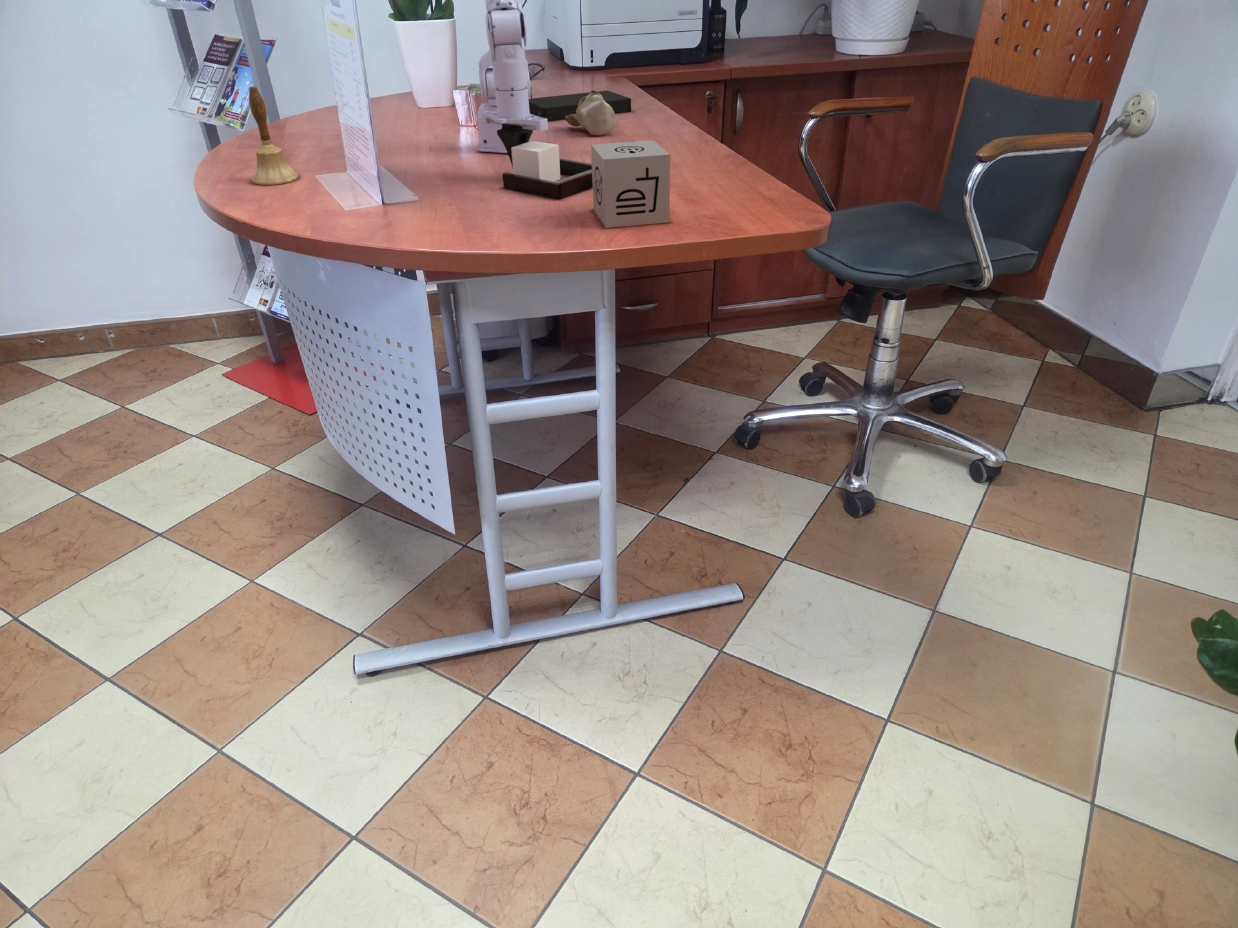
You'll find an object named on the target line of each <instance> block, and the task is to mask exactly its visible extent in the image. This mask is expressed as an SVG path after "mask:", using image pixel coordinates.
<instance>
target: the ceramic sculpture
mask: <svg viewBox="0 0 1238 928" xmlns="http://www.w3.org/2000/svg"><path fill="white" fill-rule="evenodd" d="M589 92H590V94H589V95H588V96H586V97H583V98H582V99H581V100H580V101H579V104H578V107H577V110H576V114H570V115H568V116H565V119H564V120H565V122H566V123H567V124H568V125H570V126H572V127H581V128H583V129H584V130H586V131H587V132H588V133H589V134H590V135H592V136H593V135H594V136H598V137H599V136H604V135H607V134H610V133H611V132H612V131H613V129H614V127H615V125H616V120H617V113H614V111H613V109H612V108H611V107H610V105H609V104H607V103H606V102H605V101H604V99H603V97H602V96H601V95H600V94H599V93H597V92H598V91H597V90H591V91H589Z"/></svg>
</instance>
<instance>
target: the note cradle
mask: <svg viewBox="0 0 1238 928" xmlns="http://www.w3.org/2000/svg"><path fill="white" fill-rule="evenodd" d="M559 162H560V175H564V176H567V177H564V178H560V180H557V181H554V182H552V181H547V180H542V179H537V178H532V177H527V176H521V175H516V174H513V173H510V172H503V173H502V184H503V189H507V190H512V191H516V192H521V193H526V194H529V195H535V196H539V197H544V198H549V199H553V200H561V199H564V198H567V197H570V196H573V195H576V194H578V193H581V192H584V191H587V190H589V189H593V182H592V163H588V162H583V161H578V160H571V159H566V158H561V157H559Z"/></svg>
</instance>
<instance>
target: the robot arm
mask: <svg viewBox="0 0 1238 928" xmlns="http://www.w3.org/2000/svg"><path fill="white" fill-rule="evenodd" d="M484 1H485V8H486V13H485V19H484V20H485V30H486V40H487V45H488V50H487V51H486V52H485V53H484V54H483V55H482V56H480V58H479V61H478V76H479V86H480V95H481V100H482V101H483V102H482V103H481V104H480V105H479V107H478V109H477V127H478V138H479V145H480V148H478V152H485V153H496V154H497V153H500V154H507V156H508V158H509V161H510V164H511V167H512V169H513V162H512V149H511V148H512V147H515V146H518V145H521V144H524V143H527V142H530V139H531V137H532V135H533V133H534V131H536V132H537V133H543V132H548V131H549V121H548V120H547V119H546V118H541V117H538V116H535V115H532V114H530V111H529V99H530V98H531V96H532V91H531V90H532V89H531V77H530V70H529V64H528V63H529V62H528V60H527V57H526V49H525V48H526V47H527V39H528V33H527V21H526V16H525V13H524V9H523V5H522V3H521V2H520V0H484ZM522 40H523V41H522ZM522 45H524V46H522Z"/></svg>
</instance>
